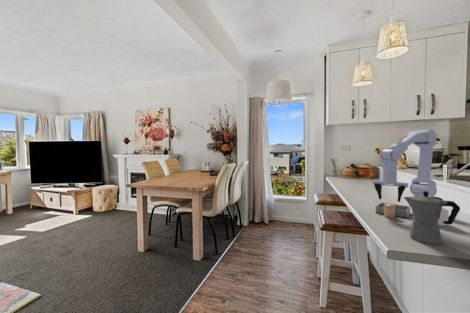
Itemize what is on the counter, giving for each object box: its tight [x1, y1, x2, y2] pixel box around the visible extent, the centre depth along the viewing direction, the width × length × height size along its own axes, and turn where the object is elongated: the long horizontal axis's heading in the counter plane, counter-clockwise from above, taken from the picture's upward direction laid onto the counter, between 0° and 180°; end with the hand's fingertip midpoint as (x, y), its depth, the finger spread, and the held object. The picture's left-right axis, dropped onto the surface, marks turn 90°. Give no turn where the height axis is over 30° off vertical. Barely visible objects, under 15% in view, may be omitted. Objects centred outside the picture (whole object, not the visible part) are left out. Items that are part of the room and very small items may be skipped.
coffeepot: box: [403, 191, 461, 246], centre depth 78 cm, size 15×9×18 cm, turn 35°
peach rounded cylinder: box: [383, 203, 396, 219], centre depth 106 cm, size 5×5×6 cm
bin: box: [375, 202, 411, 219], centre depth 113 cm, size 13×12×4 cm
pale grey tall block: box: [428, 196, 449, 227], centre depth 97 cm, size 7×7×12 cm
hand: (389, 200), depth 106 cm, fingers open, 7 cm apart
